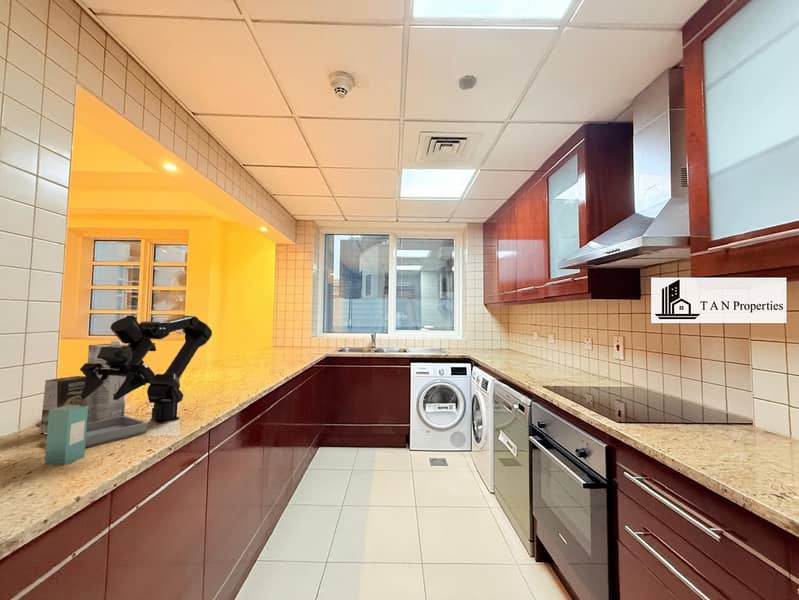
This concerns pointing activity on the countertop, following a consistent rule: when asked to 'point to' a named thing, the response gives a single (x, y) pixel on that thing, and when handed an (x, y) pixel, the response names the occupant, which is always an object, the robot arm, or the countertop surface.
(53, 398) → the coffee box
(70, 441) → the tea tin
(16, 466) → the countertop surface
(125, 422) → the tray
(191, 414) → the countertop surface
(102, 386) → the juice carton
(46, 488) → the countertop surface
